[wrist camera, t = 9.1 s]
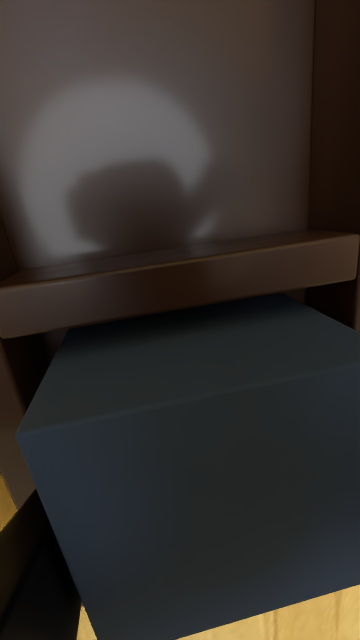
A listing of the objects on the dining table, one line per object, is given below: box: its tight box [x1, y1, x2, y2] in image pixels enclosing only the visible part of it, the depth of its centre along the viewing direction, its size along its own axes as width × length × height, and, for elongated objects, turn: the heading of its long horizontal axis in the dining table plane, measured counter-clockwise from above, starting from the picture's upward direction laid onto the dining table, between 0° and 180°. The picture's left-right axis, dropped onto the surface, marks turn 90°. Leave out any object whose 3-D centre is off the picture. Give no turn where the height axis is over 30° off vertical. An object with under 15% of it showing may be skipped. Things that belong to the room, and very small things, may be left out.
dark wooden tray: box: [0, 0, 360, 606], centre depth 7 cm, size 9×18×3 cm, turn 7°
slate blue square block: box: [15, 293, 360, 640], centre depth 7 cm, size 6×6×4 cm
